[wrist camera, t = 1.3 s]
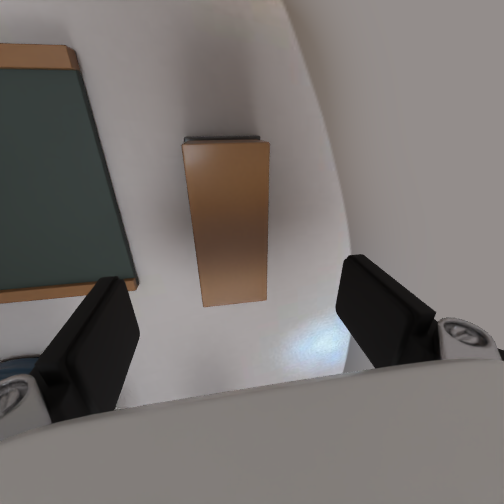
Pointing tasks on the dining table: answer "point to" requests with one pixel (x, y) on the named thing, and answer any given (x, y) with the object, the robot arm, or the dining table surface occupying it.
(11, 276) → the board
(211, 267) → the eraser
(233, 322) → the dining table surface
